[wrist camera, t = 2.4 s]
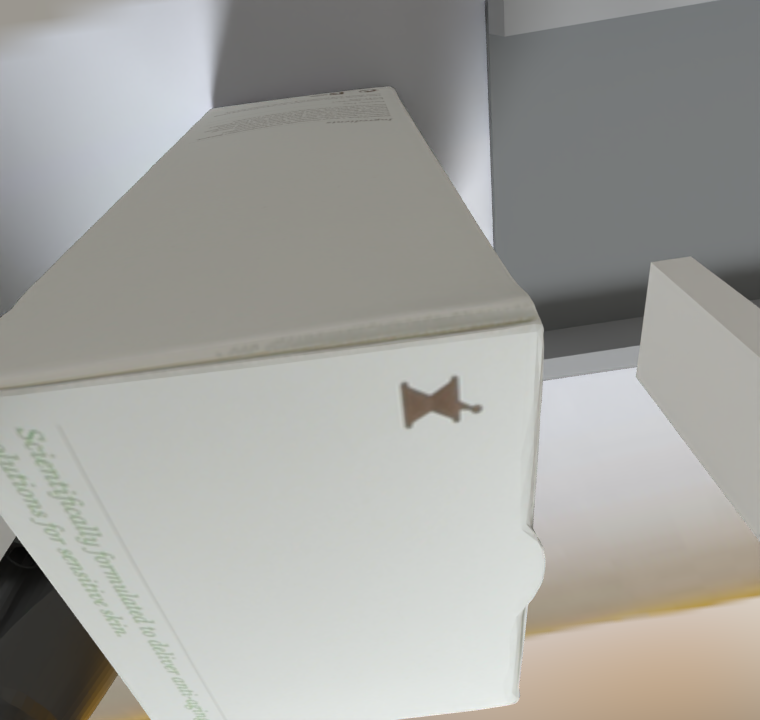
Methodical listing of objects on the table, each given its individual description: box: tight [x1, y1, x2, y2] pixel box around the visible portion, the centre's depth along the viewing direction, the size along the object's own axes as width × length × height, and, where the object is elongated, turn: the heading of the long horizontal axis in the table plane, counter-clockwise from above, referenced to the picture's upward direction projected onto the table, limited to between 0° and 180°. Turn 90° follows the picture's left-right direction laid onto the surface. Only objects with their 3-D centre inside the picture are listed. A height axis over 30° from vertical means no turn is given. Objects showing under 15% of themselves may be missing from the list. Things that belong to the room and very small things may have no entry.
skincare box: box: [0, 86, 545, 720], centre depth 14 cm, size 8×7×16 cm
